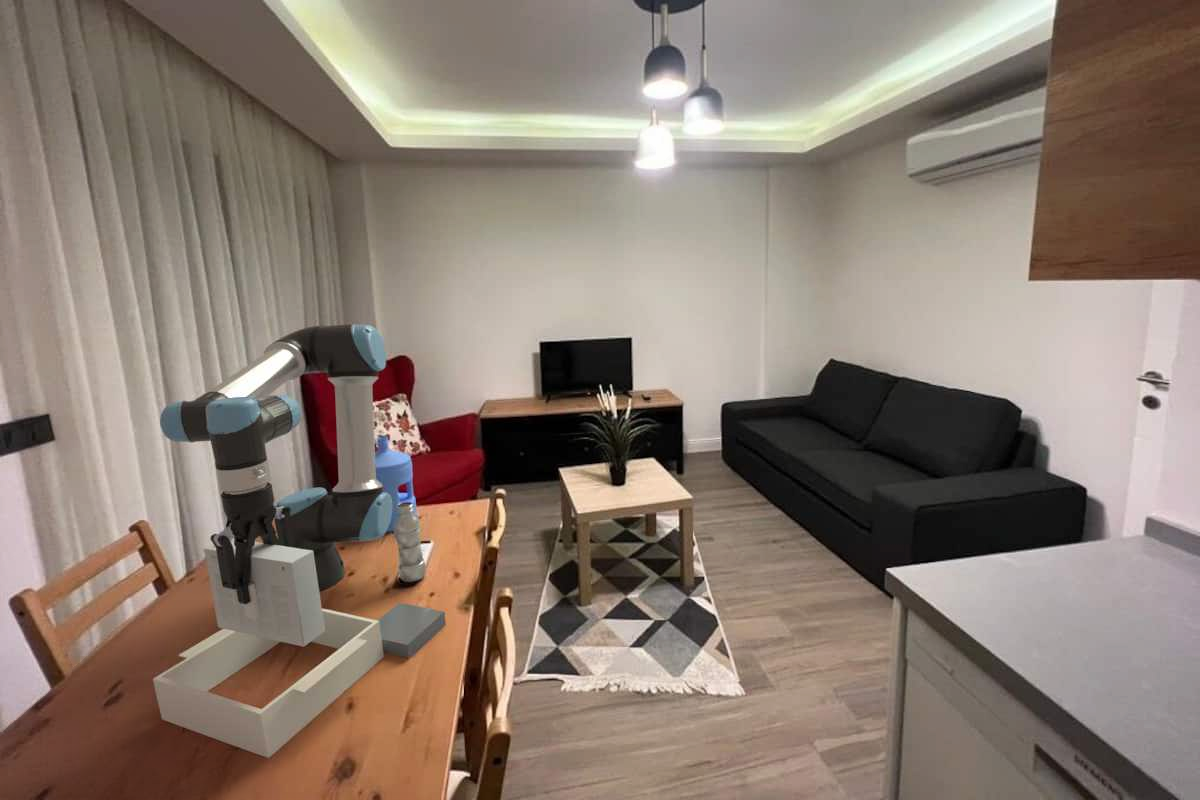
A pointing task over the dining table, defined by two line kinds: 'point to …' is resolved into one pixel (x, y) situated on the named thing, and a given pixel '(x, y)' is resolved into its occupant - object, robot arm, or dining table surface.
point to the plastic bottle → (409, 543)
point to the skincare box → (272, 595)
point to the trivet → (409, 628)
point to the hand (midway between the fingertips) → (268, 607)
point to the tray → (286, 714)
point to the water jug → (394, 476)
